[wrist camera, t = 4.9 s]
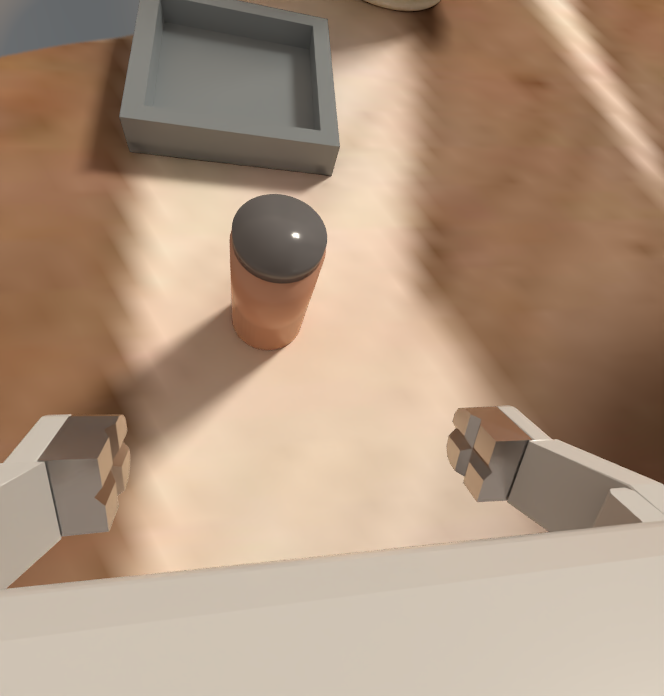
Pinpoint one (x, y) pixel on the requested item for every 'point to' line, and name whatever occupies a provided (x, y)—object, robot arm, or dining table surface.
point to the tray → (231, 85)
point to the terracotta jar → (274, 268)
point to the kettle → (404, 4)
